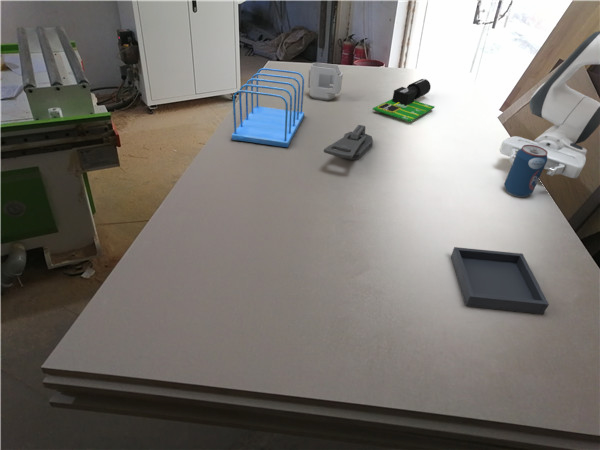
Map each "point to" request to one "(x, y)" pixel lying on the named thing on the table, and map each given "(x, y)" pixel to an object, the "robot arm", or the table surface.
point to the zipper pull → (351, 144)
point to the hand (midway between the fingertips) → (531, 165)
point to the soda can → (526, 170)
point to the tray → (497, 281)
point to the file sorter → (269, 114)
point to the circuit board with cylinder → (407, 101)
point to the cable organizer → (324, 81)
